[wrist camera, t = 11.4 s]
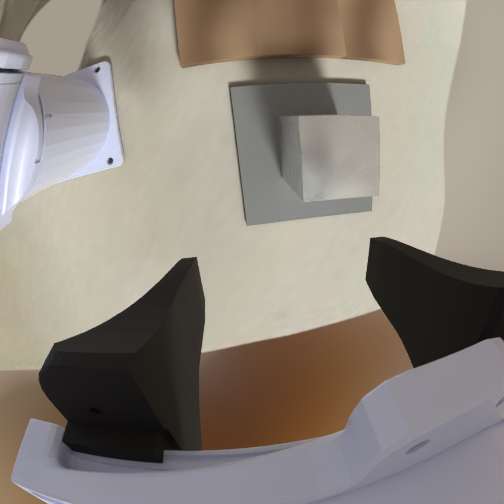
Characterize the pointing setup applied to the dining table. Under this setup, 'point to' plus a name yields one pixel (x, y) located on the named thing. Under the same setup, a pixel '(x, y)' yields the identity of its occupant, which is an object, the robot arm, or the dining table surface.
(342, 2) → the walnut hole plate
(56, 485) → the robot arm
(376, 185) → the steel plug
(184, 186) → the dining table surface
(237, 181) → the dining table surface
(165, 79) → the dining table surface
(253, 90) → the gray square plate
